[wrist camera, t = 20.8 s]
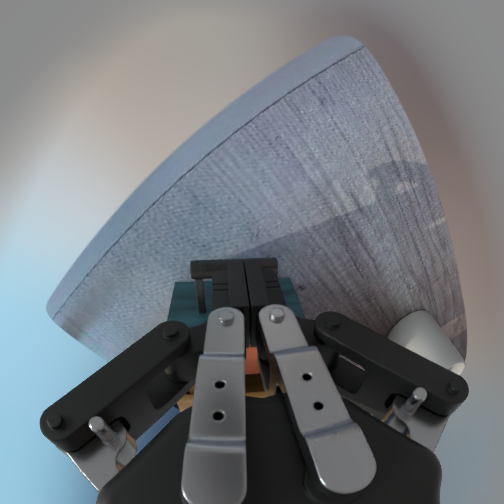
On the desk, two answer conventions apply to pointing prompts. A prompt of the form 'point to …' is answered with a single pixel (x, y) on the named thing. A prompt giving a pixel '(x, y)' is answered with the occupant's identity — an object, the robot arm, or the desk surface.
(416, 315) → the mug
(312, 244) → the desk surface
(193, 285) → the drawer
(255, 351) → the block
